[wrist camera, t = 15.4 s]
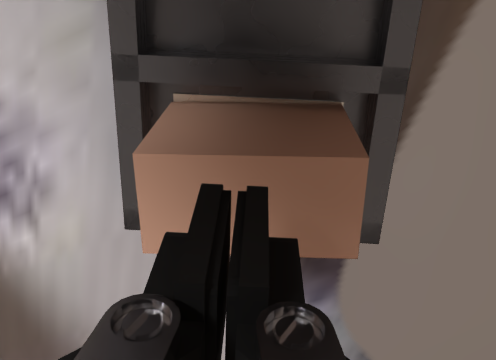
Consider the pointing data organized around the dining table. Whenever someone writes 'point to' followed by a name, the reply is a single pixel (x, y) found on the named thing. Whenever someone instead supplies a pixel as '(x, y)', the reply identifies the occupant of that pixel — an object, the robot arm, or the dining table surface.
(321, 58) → the rack
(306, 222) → the cardboard box
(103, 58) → the dining table surface
